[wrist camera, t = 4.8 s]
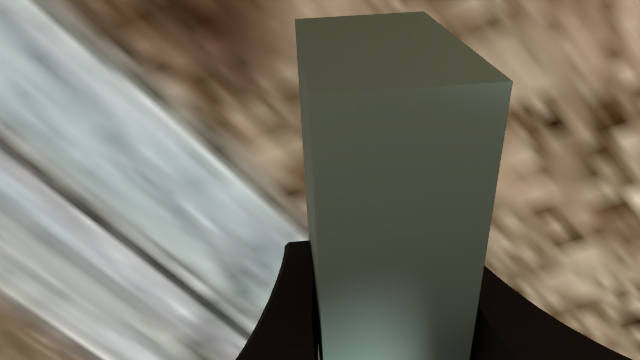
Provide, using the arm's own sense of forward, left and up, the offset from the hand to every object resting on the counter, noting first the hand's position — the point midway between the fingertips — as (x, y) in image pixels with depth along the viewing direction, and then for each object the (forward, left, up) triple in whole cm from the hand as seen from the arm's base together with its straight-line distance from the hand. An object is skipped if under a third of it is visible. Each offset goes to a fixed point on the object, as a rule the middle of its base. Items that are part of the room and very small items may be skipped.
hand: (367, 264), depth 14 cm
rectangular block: (0, 0, -1) cm, 1 cm away
